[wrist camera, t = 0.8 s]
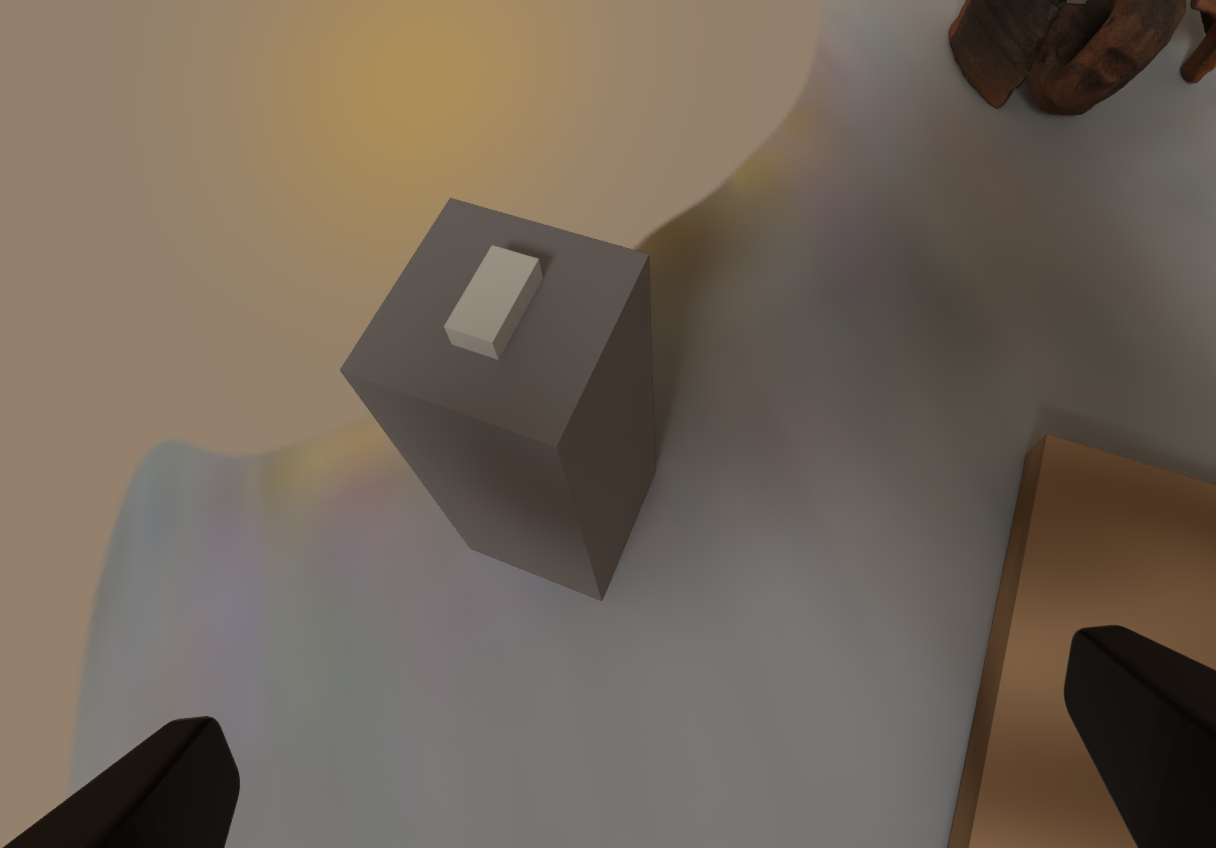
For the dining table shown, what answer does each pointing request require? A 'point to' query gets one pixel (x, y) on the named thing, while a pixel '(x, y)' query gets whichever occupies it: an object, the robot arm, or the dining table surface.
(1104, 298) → the dining table surface
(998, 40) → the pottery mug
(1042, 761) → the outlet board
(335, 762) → the dining table surface
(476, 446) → the charger
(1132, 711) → the robot arm
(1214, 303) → the dining table surface
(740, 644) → the dining table surface
